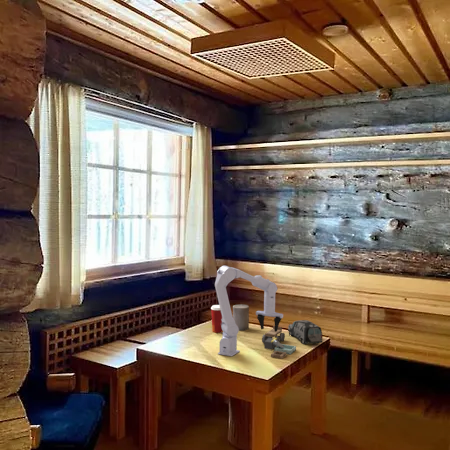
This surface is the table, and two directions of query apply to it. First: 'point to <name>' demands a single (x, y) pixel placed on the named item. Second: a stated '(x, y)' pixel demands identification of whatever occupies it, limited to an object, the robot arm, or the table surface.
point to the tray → (286, 349)
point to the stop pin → (278, 344)
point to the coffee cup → (216, 319)
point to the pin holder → (278, 354)
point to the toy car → (305, 331)
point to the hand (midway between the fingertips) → (269, 330)
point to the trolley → (274, 334)
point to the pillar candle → (241, 316)
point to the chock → (269, 343)
